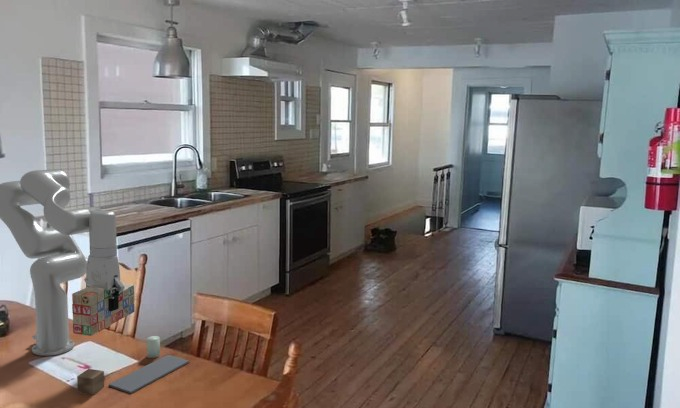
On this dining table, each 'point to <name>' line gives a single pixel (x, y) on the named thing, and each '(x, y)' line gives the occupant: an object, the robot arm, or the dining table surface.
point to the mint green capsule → (153, 347)
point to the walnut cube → (90, 381)
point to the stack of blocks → (99, 309)
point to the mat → (148, 374)
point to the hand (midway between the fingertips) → (104, 307)
